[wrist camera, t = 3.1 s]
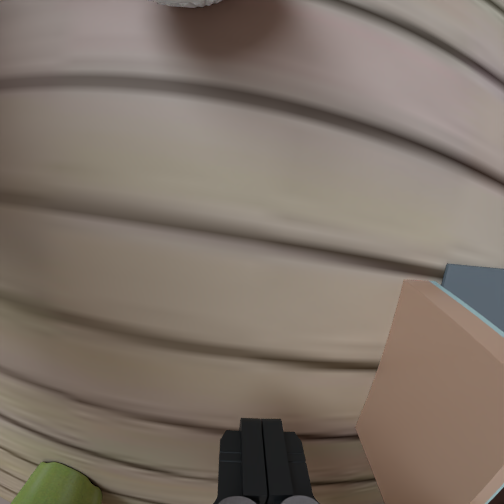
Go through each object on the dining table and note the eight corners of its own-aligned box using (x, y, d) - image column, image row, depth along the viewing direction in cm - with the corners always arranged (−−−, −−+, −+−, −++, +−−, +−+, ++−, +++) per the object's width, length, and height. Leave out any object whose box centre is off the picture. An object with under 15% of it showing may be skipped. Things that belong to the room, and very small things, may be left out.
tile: (403, 279, 14) (544, 405, 5) (434, 281, 15) (572, 390, 5) (354, 427, 17) (405, 559, 8) (382, 424, 17) (439, 546, 8)
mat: (447, 263, 14) (449, 264, 14) (554, 273, 15) (556, 274, 15) (384, 434, 18) (385, 436, 17) (498, 407, 18) (499, 408, 18)
